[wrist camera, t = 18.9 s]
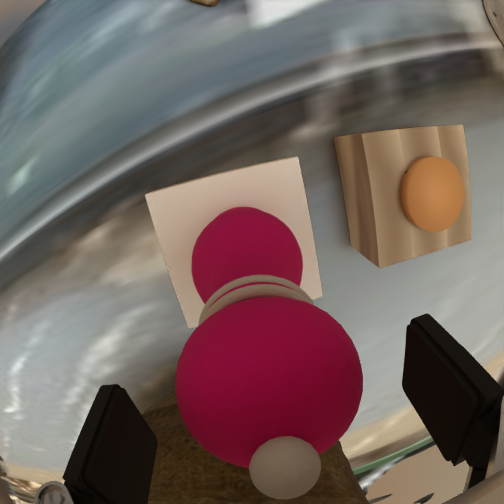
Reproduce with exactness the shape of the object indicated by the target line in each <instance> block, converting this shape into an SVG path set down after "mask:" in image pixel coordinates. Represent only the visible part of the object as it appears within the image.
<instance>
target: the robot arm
mask: <svg viewBox="0 0 504 504" xmlns="http://www.w3.org/2000/svg"><path fill="white" fill-rule="evenodd" d="M483 3H484V7H485V10H486V13H487V16H488V18H489V20H490V22H491V25H492V27H493V28H494V30H495V32H496V34H497V35H498V37H499V39H500V40H501V42H502V43H503V44H504V0H483ZM402 387H403V390H404V392H405V394H406V396H407V397H408V399H409V400H410V402H411V404H412V405H413V407H414V408H415V410H416V412H417V413H418V415H419V416H420V418H421V420H422V421H423V423H424V425H425V426H426V428H427V430H428V431H429V433H430V435H431V436H432V438H433V440H434V441H435V443H436V445H437V446H438V448H439V450H440V452H441V453H442V455H443V457H444V458H445V459H446V460H447V461H450V460H451V462H452V463H453V465H454V466H456V465H457V464H459V463H461V462H463V461H464V460H466V462H467V463H468V465H469V467H470V468H469V472H468V476H467V480H466V483H465V487H464V490H463V493H462V494H459V495H458V496H456V497H454V498H452V499H450V500H448V501H446V502H444V503H442V504H504V390H503V389H502V388H501V386H500V385H499V384H498V383H497V382H496V381H495V380H494V379H493V378H492V377H491V375H490V374H489V373H488V372H487V371H486V370H485V369H484V368H483V367H482V366H481V365H480V364H479V363H478V362H477V361H476V360H475V359H474V357H473V356H472V355H471V354H470V353H469V352H468V351H467V350H466V349H465V348H464V347H463V346H462V345H460V344H459V343H458V342H457V341H456V340H455V339H454V338H453V337H452V336H451V335H450V334H449V333H448V332H447V331H446V330H445V329H444V328H443V327H442V326H441V325H440V324H439V323H438V322H437V321H436V320H435V319H434V318H433V317H432V316H431V315H429V314H424V315H421V316H419V317H416V318H413V319H412V320H411V322H410V325H408V326H407V330H406V346H405V359H404V369H403V379H402ZM157 446H158V441H157V437H156V435H155V434H154V433H153V431H152V430H151V428H150V427H149V425H148V424H147V423H146V421H145V420H144V418H143V417H142V415H141V414H140V412H139V411H138V409H137V408H136V406H135V404H134V403H133V401H132V400H131V398H130V397H129V395H128V393H127V392H126V390H125V389H124V388H121V387H120V386H119V385H118V384H113V385H103V386H101V387H100V389H99V391H98V393H97V395H96V398H95V400H94V402H93V404H92V407H91V409H90V411H89V413H88V416H87V418H86V420H85V423H84V425H83V427H82V430H81V432H80V435H79V437H78V439H77V442H76V444H75V447H74V449H73V452H72V454H71V457H70V459H69V462H68V465H67V467H66V470H65V473H64V475H63V479H64V480H65V482H64V484H62V483H61V482H58V481H50V482H47V483H45V484H43V485H42V486H41V487H40V488H39V489H38V490H37V493H36V495H35V500H34V501H35V504H148V497H149V491H150V485H151V479H152V473H153V468H154V462H155V457H156V451H157Z"/></svg>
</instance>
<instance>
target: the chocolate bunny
mask: <svg viewBox="0 0 504 504" xmlns="http://www.w3.org/2000/svg"><path fill="white" fill-rule="evenodd" d="M191 1H195V2H199V3H202V4H205V5H210V6H214V5H216V4H217V3H218V1H219V0H191Z"/></svg>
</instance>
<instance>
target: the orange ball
mask: <svg viewBox="0 0 504 504" xmlns="http://www.w3.org/2000/svg"><path fill="white" fill-rule="evenodd" d="M405 173H406V175H405V178H404V181H403V185H402V204H403V208H404V211H405V213H406V215H407V217H408V218H409V220H410V221H411V222H412V223H413V224H414V225H416V226H417V227H419V228H421V229H423V230H426V231H428V232H433V233H437V232H441V231H444V230H446V229H447V228H449V227H450V226H451V225H452V224H453V223H454V222H455V221H456V219H457V217H458V216H459V214H460V211H461V209H462V205H463V200H464V186H463V181H462V178H461V175H460V173H459V171H458V169H457V168H456V167H455V165H454V164H453V163H452V162H450V161H449V160H447V159H445V158H442V157H432V156H428V157H423V158H421V159H419V160H417V161H416V162H415V163H413V164H412V166H411V167H410V168H409V170H408V171H405Z"/></svg>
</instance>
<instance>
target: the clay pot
mask: <svg viewBox="0 0 504 504" xmlns="http://www.w3.org/2000/svg"><path fill="white" fill-rule="evenodd" d="M142 417H143V418H144V420H145V421H146V423H147V424H148V425H149V427H150V428H151V430H152V431H153V433H154V434H155V435H156V437H157V441H158V446H157V451H156V457H155V462H154V468H153V473H152V479H151V485H150V491H149V497H148V504H369V502H368V500H367V499H366V497H365V495H364V493H363V490H362V489H361V487H360V485H359V484H358V482H357V480H356V477H355V475H354V473H353V471H352V469H351V466H350V464H349V462H348V459H347V458H346V456H345V455H344V453H343V451H342V447H341V443H340V441H339V440H338V441H337V442H336V443H335V444H334V445H333V446H331V447H330V448H328V449H327V450H325V451H324V452H322V453H321V454H319V458H320V461H321V471H320V475H319V479H318V480H317V482H316V483H315V485H314V486H313V487H312V488H311V489H310V490H309V491H308V492H306V493H305V494H303V495H301V496H299V497H296V498H291V499H275V498H272V497H268V496H267V495H265V494H263V493H262V492H260V491H259V490H258V489H257V488H256V487H255V485H254V484H253V481H252V479H251V476H250V471H249V468H246V467H241V466H237V465H234V464H231V463H228V462H225V461H223V460H221V459H220V458H218V457H216V456H215V455H213V454H212V453H210V452H208V451H207V450H206V449H204V448H203V447H202V446H201V445H200V444H199V443H198V442H197V441H196V439H195V438H194V437H193V436H192V435H191V433H190V432H189V430H188V428H187V427H186V425H185V423H184V421H183V419H182V417H181V414H180V411H179V408H178V404H177V398H176V391H175V392H173V393H172V394H170V395H168V396H166V397H165V398H163V399H162V400H160V401H159V402H157V403H156V404H155V405H153V406H152V407H151V408H149V409H148V410H147V411H146V412H145V413H144V414H142Z"/></svg>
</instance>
